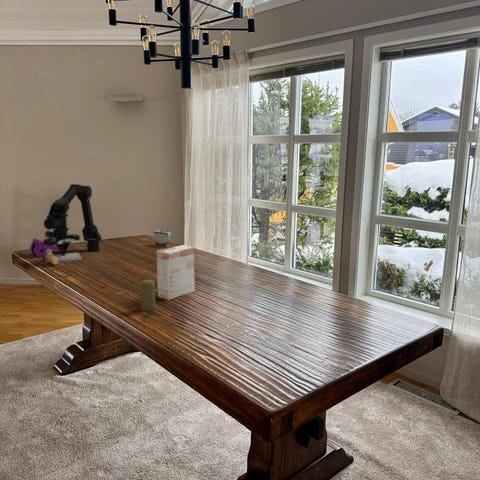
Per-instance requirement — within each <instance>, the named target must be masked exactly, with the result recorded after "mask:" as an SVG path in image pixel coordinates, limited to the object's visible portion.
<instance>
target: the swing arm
mask: <svg viewBox="0 0 480 480" xmlns="http://www.w3.org/2000/svg"><path fill="white" fill-rule="evenodd" d="M52 251H53V249H46V258H47V259H48V260H49V261H50V262H49V263H52V264H53V265H56V264H57V265H58V264H59V262H58V258H57V257H56V256H55V255H54V253H53V252H52Z"/></svg>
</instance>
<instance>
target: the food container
mask: <svg viewBox="0 0 480 480" xmlns="http://www.w3.org/2000/svg"><path fill="white" fill-rule="evenodd" d="M153 234H154V235H153V237H154V244H155V245H154V246H155V247H157V248H163V249H167V248H170V238H171V237H170V236H171V235H172V234H171V231H170V230H167V229H155V230H153Z"/></svg>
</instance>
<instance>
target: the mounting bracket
mask: <svg viewBox="0 0 480 480" xmlns="http://www.w3.org/2000/svg"><path fill="white" fill-rule="evenodd" d="M43 241H44V240H41V239H40V240H39V239H36V238H33V239H32V241H31V244H30V247H29V250H30V252H31V254H33V255H35V256H36V257H38V258H45V255H46V249H51V250H52V251H56V252H59V253H60V251H59V249H58V247H57V246H56V245H52V246H49V245H43Z"/></svg>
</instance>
